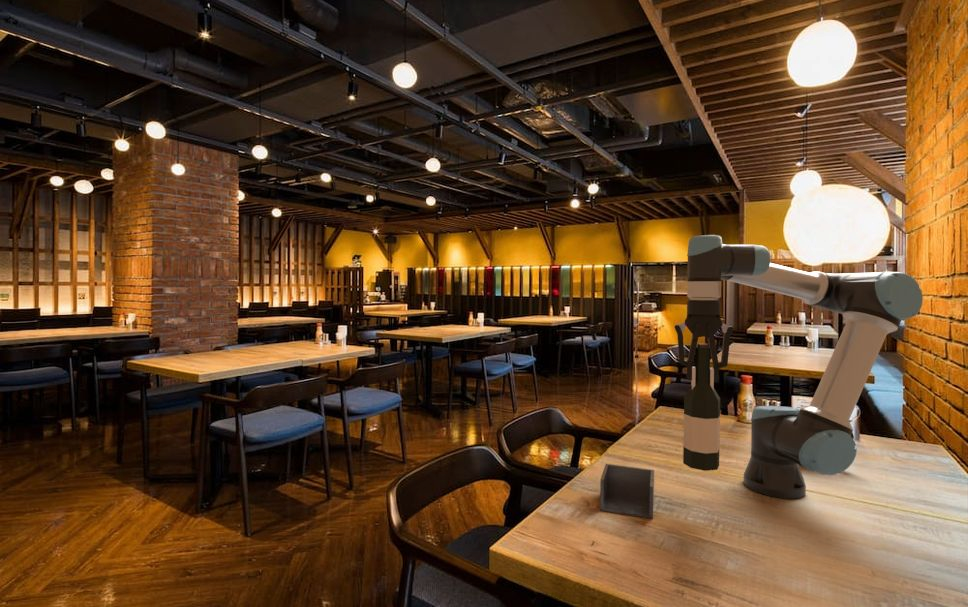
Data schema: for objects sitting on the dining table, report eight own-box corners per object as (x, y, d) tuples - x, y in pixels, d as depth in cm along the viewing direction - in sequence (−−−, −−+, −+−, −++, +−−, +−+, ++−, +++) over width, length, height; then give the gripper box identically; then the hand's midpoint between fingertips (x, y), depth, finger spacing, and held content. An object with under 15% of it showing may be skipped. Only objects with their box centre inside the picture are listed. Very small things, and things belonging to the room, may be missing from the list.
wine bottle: (724, 472, 114) (726, 346, 113) (686, 469, 116) (688, 345, 115) (714, 459, 122) (716, 342, 121) (679, 457, 124) (681, 341, 123)
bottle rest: (653, 499, 128) (654, 470, 128) (652, 519, 117) (653, 486, 117) (605, 492, 132) (605, 463, 132) (600, 510, 122) (600, 479, 121)
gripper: (739, 299, 118) (737, 393, 119) (667, 298, 124) (666, 388, 125) (743, 299, 111) (741, 400, 112) (667, 299, 117) (666, 394, 118)
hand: (702, 393), depth 118 cm, fingers closed on wine bottle, 3 cm apart
